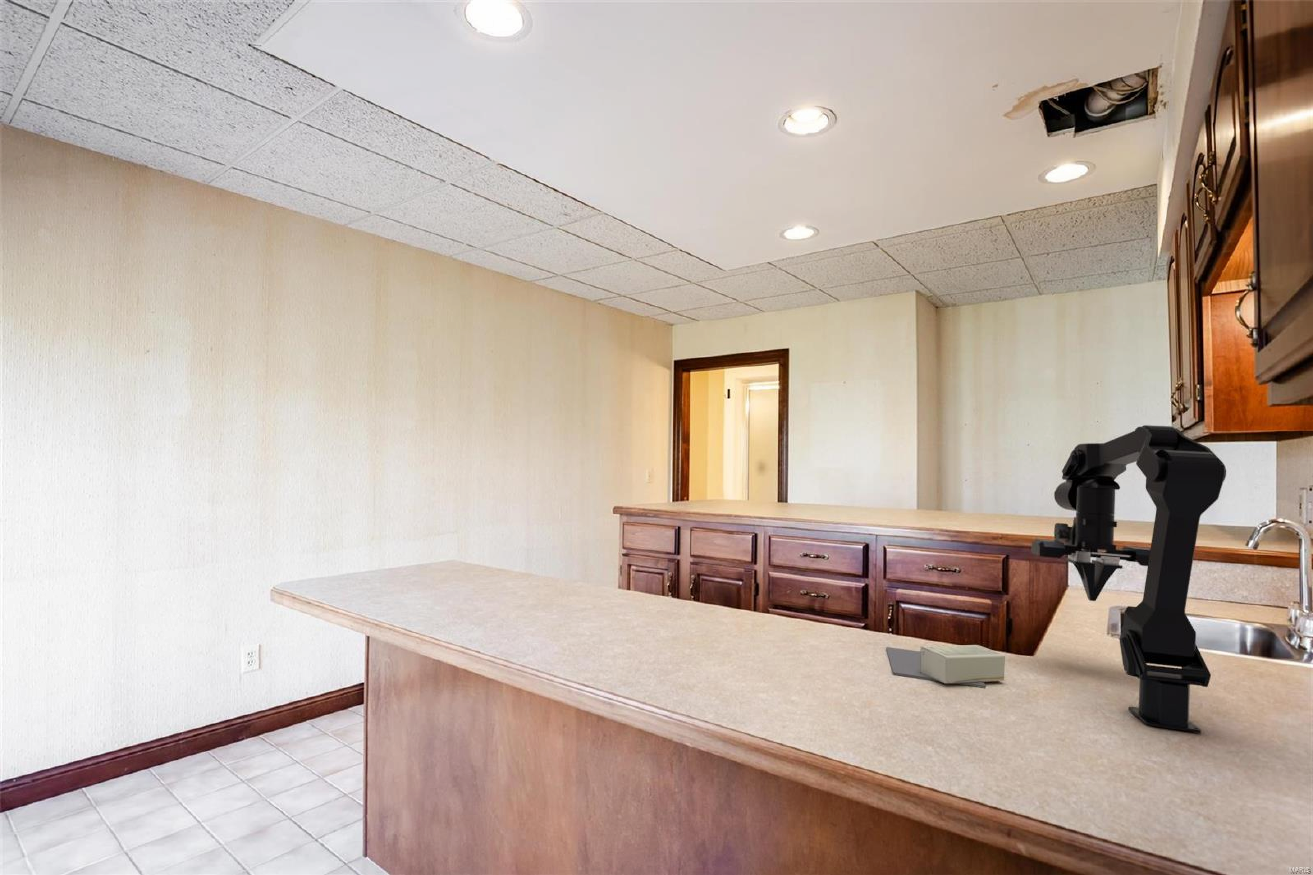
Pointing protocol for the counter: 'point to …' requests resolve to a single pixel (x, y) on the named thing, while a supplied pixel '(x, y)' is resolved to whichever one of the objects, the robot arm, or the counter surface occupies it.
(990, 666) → the skincare box
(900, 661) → the mat
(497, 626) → the counter surface
